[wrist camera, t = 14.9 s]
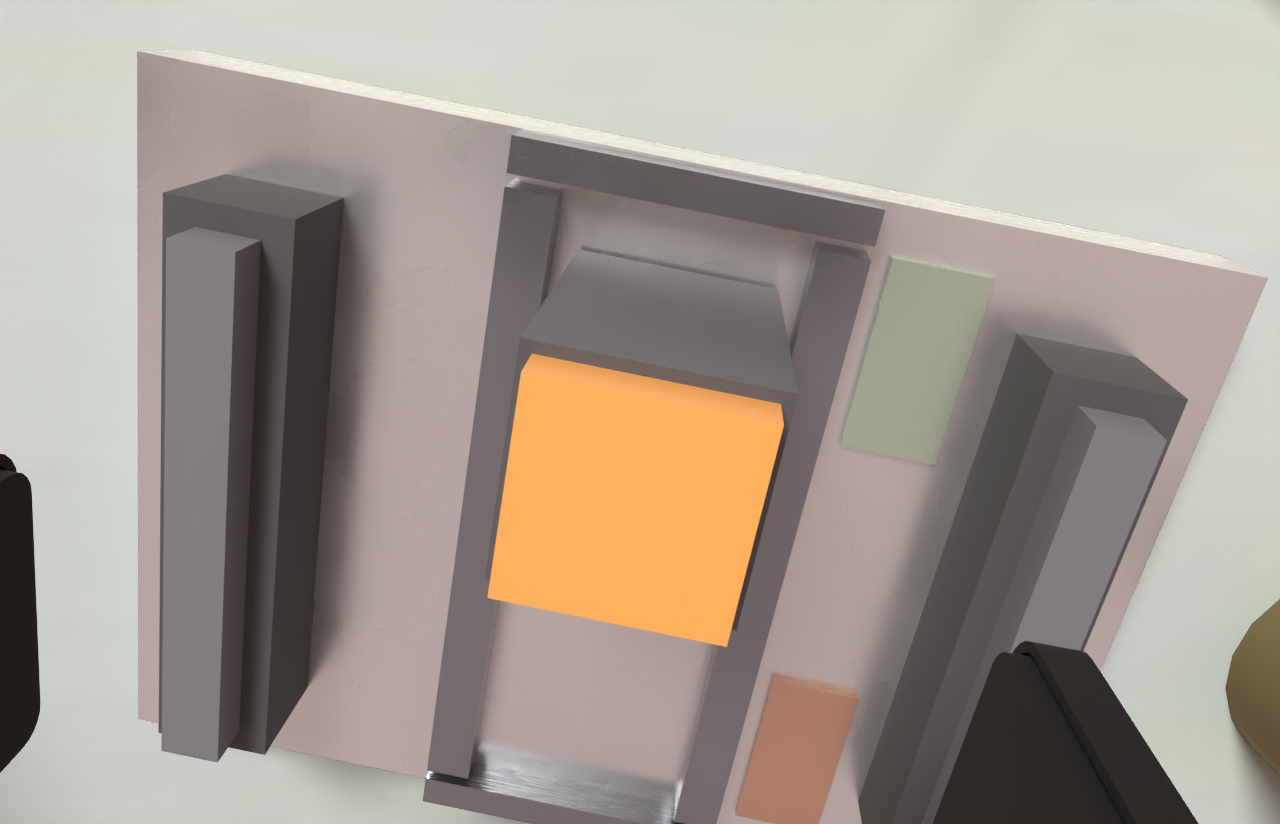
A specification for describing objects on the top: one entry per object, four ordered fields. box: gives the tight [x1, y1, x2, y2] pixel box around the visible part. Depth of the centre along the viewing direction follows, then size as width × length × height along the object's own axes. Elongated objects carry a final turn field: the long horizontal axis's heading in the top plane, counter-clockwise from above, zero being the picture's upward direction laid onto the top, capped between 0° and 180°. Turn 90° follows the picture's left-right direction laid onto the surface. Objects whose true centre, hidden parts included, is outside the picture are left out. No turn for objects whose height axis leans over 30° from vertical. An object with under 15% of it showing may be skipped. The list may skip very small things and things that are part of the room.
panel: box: [137, 49, 1268, 824], centre depth 23 cm, size 22×16×3 cm
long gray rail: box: [159, 174, 1188, 824], centre depth 21 cm, size 18×12×3 cm, turn 80°
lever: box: [485, 249, 798, 647], centre depth 17 cm, size 4×4×7 cm
